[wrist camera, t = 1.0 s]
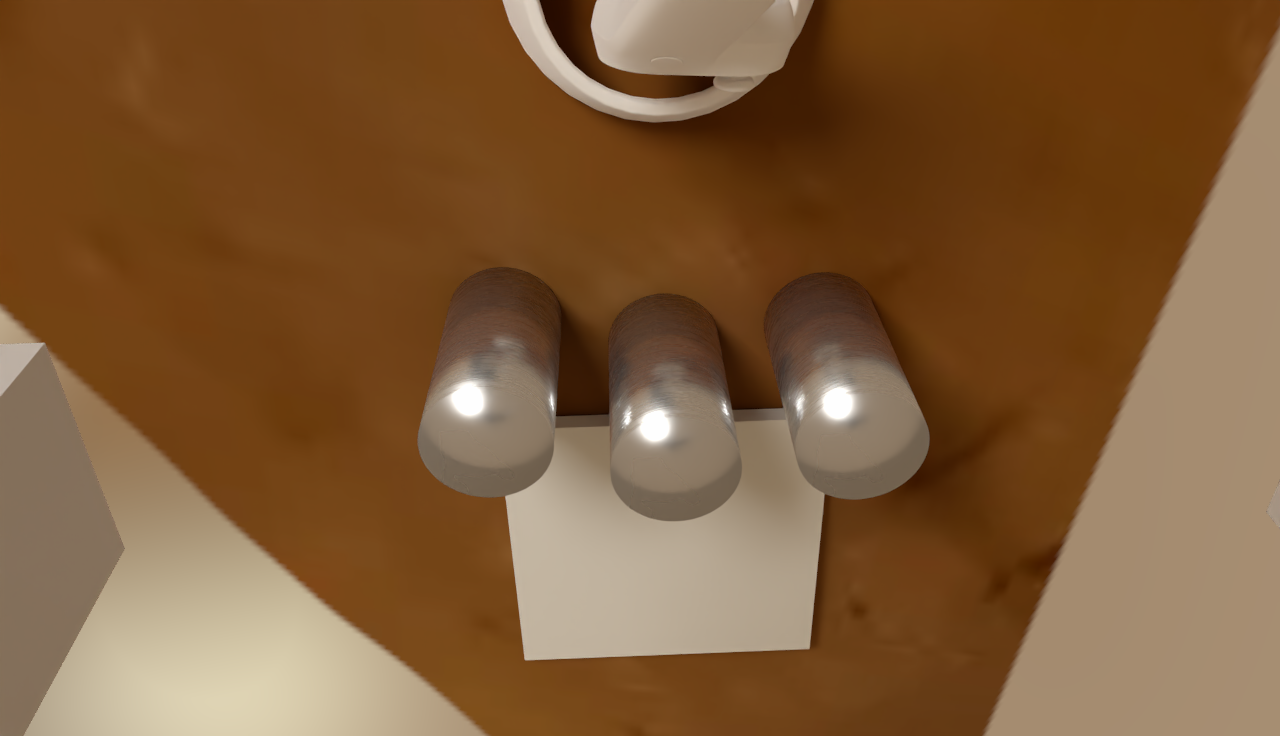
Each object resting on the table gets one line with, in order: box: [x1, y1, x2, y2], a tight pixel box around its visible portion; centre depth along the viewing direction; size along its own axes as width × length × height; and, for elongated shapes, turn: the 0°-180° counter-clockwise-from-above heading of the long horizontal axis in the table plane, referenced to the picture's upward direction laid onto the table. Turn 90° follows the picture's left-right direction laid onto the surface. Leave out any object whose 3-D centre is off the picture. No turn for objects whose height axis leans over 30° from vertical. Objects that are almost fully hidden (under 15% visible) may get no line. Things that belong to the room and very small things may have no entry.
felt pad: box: [506, 408, 825, 660], centre depth 34 cm, size 10×10×1 cm
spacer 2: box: [609, 294, 742, 521], centre depth 28 cm, size 3×3×6 cm
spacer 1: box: [418, 267, 562, 497], centre depth 27 cm, size 3×3×6 cm
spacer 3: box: [764, 273, 930, 499], centre depth 28 cm, size 3×3×6 cm
